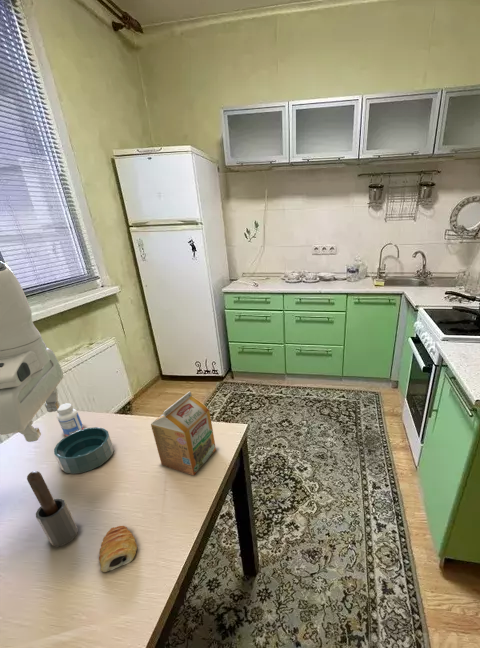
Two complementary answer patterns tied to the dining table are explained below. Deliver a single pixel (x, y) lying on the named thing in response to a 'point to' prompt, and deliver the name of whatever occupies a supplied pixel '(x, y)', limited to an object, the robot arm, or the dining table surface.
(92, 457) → the bowl
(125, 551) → the pastry
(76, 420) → the pill bottle
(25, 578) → the dining table surface
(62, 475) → the dining table surface
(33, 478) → the stick
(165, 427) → the milk carton
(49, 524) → the holder
